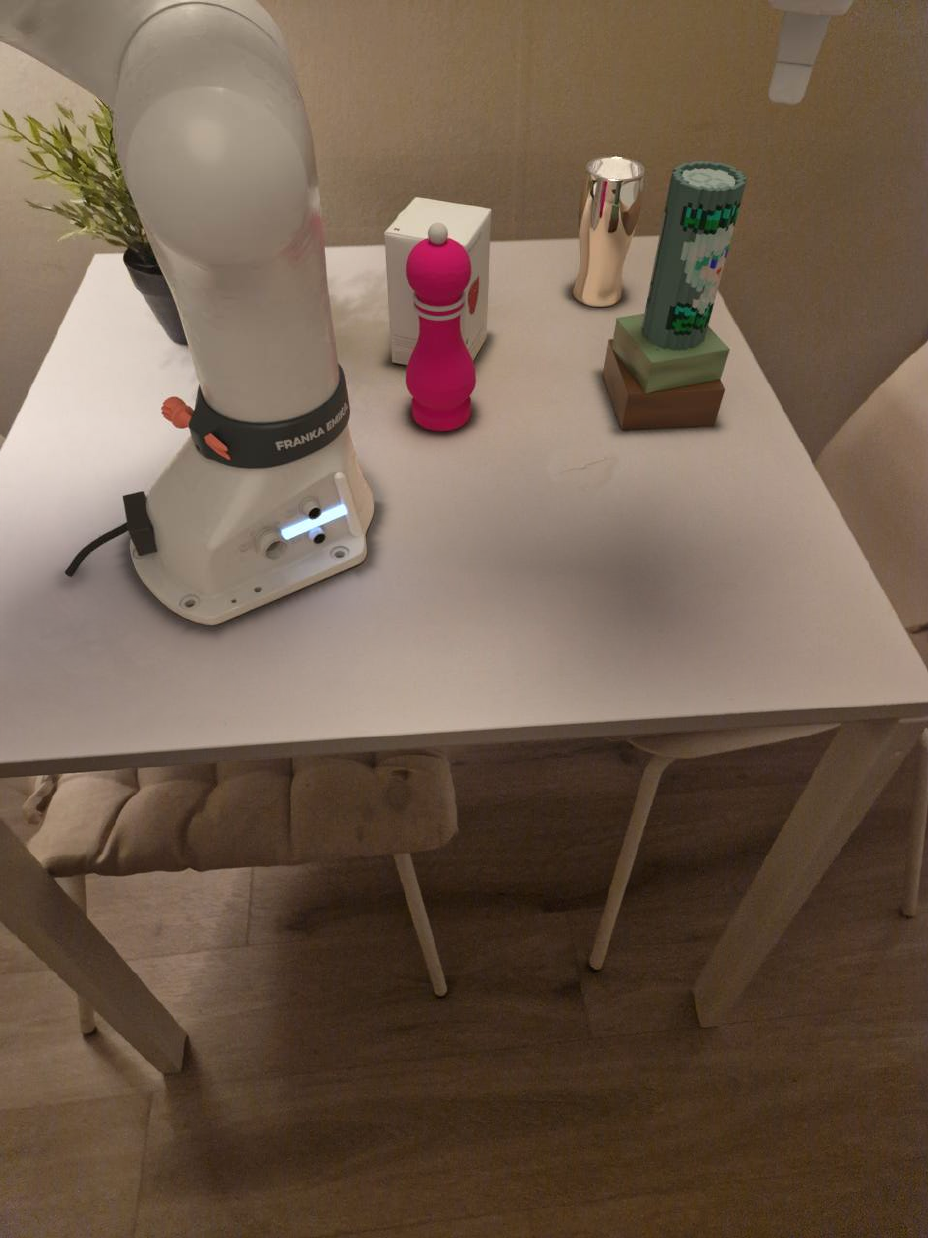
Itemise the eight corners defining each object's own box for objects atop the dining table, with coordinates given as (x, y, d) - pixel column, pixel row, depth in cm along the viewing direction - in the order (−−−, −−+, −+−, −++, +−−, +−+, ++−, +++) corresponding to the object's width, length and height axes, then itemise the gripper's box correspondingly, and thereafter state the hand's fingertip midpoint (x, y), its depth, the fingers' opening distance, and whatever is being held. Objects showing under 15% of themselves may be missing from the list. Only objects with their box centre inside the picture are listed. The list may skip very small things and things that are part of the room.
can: (681, 356, 78) (721, 197, 66) (630, 333, 80) (659, 175, 69) (715, 332, 80) (758, 174, 69) (664, 310, 83) (698, 155, 71)
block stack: (714, 425, 84) (735, 358, 78) (621, 430, 83) (634, 363, 77) (689, 370, 90) (706, 304, 84) (602, 374, 89) (613, 308, 83)
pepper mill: (478, 395, 87) (482, 206, 71) (472, 437, 82) (475, 245, 67) (412, 391, 87) (402, 202, 72) (403, 432, 83) (390, 240, 67)
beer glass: (571, 278, 103) (585, 153, 91) (624, 282, 102) (646, 157, 91) (567, 306, 99) (582, 178, 87) (624, 311, 98) (646, 182, 86)
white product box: (464, 379, 89) (466, 245, 77) (390, 364, 91) (380, 231, 79) (489, 337, 94) (493, 206, 83) (418, 323, 96) (413, 193, 84)
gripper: (846, -323, 40) (764, 12, 51) (799, -309, 28) (705, 126, 39) (980, -321, 39) (867, 23, 49) (992, -305, 27) (839, 146, 37)
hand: (795, 70), depth 44 cm, fingers open, 8 cm apart
